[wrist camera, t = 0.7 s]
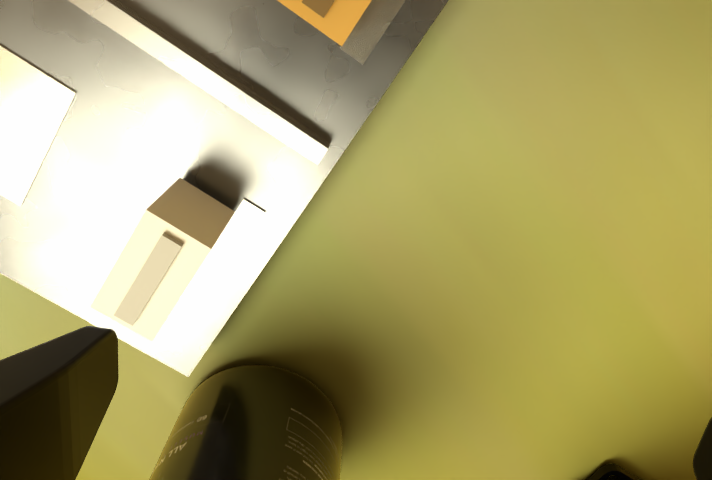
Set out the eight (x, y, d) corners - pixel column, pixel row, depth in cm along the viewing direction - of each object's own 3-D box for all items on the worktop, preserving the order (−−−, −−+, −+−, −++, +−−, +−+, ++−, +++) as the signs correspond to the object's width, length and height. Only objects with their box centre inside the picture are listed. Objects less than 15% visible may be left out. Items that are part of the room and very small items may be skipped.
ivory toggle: (235, 211, 19) (209, 252, 16) (182, 294, 20) (149, 345, 17) (179, 177, 19) (143, 212, 16) (129, 263, 20) (86, 310, 17)
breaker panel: (534, -137, 17) (562, -159, 15) (202, 347, 24) (181, 390, 21) (164, -450, 15) (121, -541, 12) (-89, 182, 22) (-152, 208, 19)
